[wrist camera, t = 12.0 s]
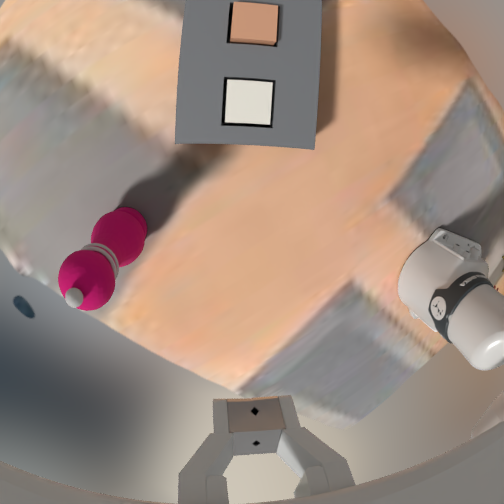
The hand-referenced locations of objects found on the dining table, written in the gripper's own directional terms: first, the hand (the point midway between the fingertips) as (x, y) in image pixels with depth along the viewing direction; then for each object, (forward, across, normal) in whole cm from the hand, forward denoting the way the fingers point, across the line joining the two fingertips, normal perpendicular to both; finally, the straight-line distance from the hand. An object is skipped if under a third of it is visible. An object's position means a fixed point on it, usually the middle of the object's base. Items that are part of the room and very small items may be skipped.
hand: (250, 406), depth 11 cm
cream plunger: (+32, +2, +13) cm, 34 cm away
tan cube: (+31, +2, +23) cm, 39 cm away
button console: (+33, +2, +18) cm, 38 cm away
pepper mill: (+33, -14, -4) cm, 36 cm away
